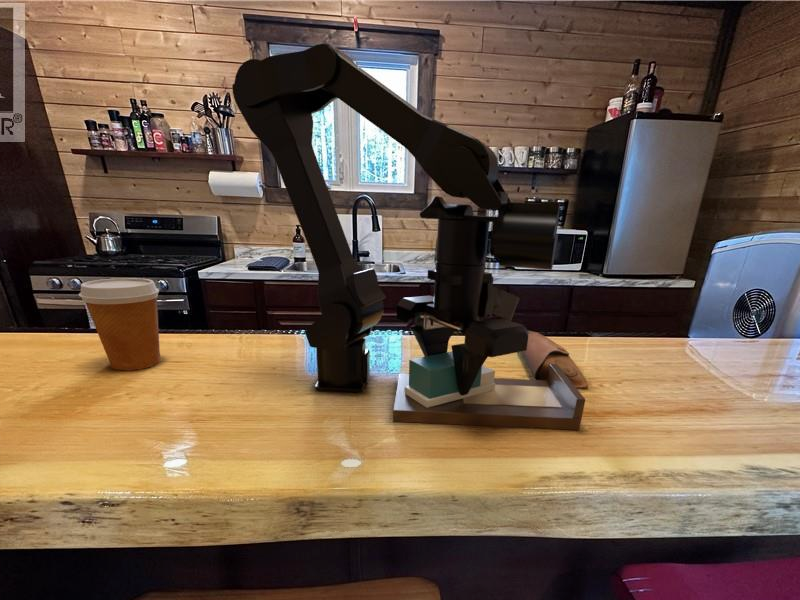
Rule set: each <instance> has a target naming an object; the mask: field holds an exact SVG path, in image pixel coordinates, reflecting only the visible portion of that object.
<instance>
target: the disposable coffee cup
mask: <svg viewBox="0 0 800 600" xmlns="http://www.w3.org/2000/svg"><path fill="white" fill-rule="evenodd" d="M159 293H160V289H159V288H158V287H157V285H156V283H155V281H154V280H152V279H148V278H141V277H139V278H138V277H118V278H117V277H115V278H114V277H113V278H105V279H104V278H103V279H95V280H89V281H86V282H83V283H81V284H80V292H79V293H78V296H79V298H81V300H82V301H83V302H84V303H85V305H86V308H87V310H88V313H89V315H90V318H91V321H92V322H93V326H94V328H95V330H96V333H97V335H98V338H99V339H100V343H101V345H102V347H103V350H104V352H105V354H106V357H107V359H108V362H109V364H110V367H111V368H112V369H114V370H118V371H133V370H134V371H135V370H141V369H146V368H150V367H153V366H155V365H157V364H159V363H160V361H161V351H160V333H159V332H160V330H159V329H160V328H159V311H158V309H159V308H158V297H159Z"/></svg>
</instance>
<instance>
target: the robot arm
mask: <svg viewBox="0 0 800 600" xmlns="http://www.w3.org/2000/svg"><path fill="white" fill-rule="evenodd" d="M231 89H232V96H233V99H234V102H235V104H236V106H237V109H238V110H239V112H240V114H241V115H242V117H243V119H244V121H245V122H246V124H247V126H248V127H249V129H250V131H251V133H252V134H254V136H255V137H256V138H257V139H258V141H259V142H261V143H262V145H263V146H264V148H266V149H267V151H268V152H269V153H270V154H271V156H272V157H273V159H274V162H275V164H276V167H277V169H278V172H279V175H280V177H281V180H282V182H283V185H284V187H285V190H286V193H287V195H288V197H289V200H290V202H291V205H292V207H293V211H294V213H295V215H296V218H297V220H298V223H299V226H300V228H301V230H302V233H303V236H304V238H305V241H306V243H307V247H308V248H309V251H310V254H311V256H312V259H313V261H314V264H315V266H316V268H317V272H318V276H317V277H318V278H317V293H316V294H317V301H318V306H319V310H320V313H321V315H320V316H318V317H317V318H316V320H315V321H314V322H313V323H312V324H311V325H309V326H308V327H307V329H306V330H305V332H304V334H305V336H306V339H307V342H308V345H309V348H314V349H316V368H317V369H316V370H317V381H316V383H315V385H314V390H315V391H328V392H329V391H330V392H331V391H333V392H353V393H362V392H363V391H364V388H365V385H366V384H368V382H369V379H370V377H371V374H370V373H371V372H370V371H371V370H370V369H371V368H370V366H371V358H370V357H371V355H370V353H371V351H370V350H369V349H367V348H366V347H367V345H366V344H367V343H366V342H367V341H366V337H369V336H370V335H371V333H372V329H373V327H374V326H375V325H377V324H378V323H379V322H380V321H381V319H382V316H383V315H384V313H385V305H384V301H383V299H386V297H387V296H386V294H385V293H384V292H383V291H382V289H381V287H380V284H379V279H378V275H377V273H376V270H375V269H374V268H369V269H366V270H364V269H363V268H362V267H361V266H360V265H359V264H358V262H357V261H356V260H355V258H354V256H353V253H352V250H351V247H350V244H349V242H348V240H347V237H346V234H345V232H344V229H343V226H342V223H341V220H340V218H339V215H338V213H337V210H336V207H335V204H334V202H333V199H332V196H331V194H330V190H329V188H328V186H327V182H326V180H325V177H324V175H323V171H322V169H321V166H320V164H319V162H318V158H317V156H316V153H315V151H314V147H313V135H314V133H313V132H314V119H313V114H315V113H318V112H321V111H322V110H324V109H325V108H326V107H328V106H329V105H330V104H331V103H333V102H334V101H335V100H337V99H339V101H341V102H343V103H344V104H345V105H347V106H348V107H349V108H351V109H352V110H353V111H355V112H356V113H357V114H359V115H360V116H361V117H363V118H364V119H366V120H367V121H369V122H370V123H371V124H372V125H373V126H375V127H376V128H378V129H379V130H381V131H382V132H383V133H384V134H386V135H388V136H389V137H390V138H391V139H393V140H394V141H396V142H397V143H398V144H399V145H401V146H403V148H405V149H406V150H407V151H408V152H409V153H410V155H412V156H413V158H414V159H415V161H416V162H417V163H418V165H419V166H420V168H422V170H423V171H424V173H426V175H428V176H429V177H430V179H431V180H432V181H433V182H434V183H435V184H436V185H437V186H438V187H439V188H440V189H441V190H442V191H443V192H444V193H445V194H447V195H449V196H450V197H453V198H459V199H467V200H470V202H472V203H473V204H474V205H475V206H477V207H478V208H479V209H482V210H483V209H484V210H485V209H486V210H497V214H498V215H497V216H493V215H492V216H491V215H476V214H475V215H474V209H473V206H472V205H471V204H463V203H462V204H461V203H447V202H446V200H445V199H444V197H442V196H439V195H435V196H433V198H432V200H431V201H430V203H429V204H428V205H427V206H425V208H423V210H421V211H420V212H419V217H420V218H421V219H426V220H427V219H428V220H429V219H430V220H437V234H436V252H435V268H434V269H427V278H426V279H428V280H432V281H434V285H433V296H432V295H421V296H419V295H418V296H410V297H409V296H408V297H402V298H401V299H400V300H399V302H398V303H397V304H396V320H399V321H401V322H403V323H406V324H411V323H412V321H413V320H414V325H409V331H411V332H412V333H413V336H414V337H415V340H416V342H417V343H418V346H419V348H420V350H421V352H422V355H423V357H425V356H431V355H436V354H441V353H446V352H448V349H449V342H450V339H451V337H452V336H453V335H454V333H455V331H457V332H459V333H462V334H464V343H458V344H452V345H451V352H452V353H453V360H454V366H455V373H456V379H457V385H458V390H459V394H460V395H462V396H463V395H467V394H468V393H469V391H470V389H471V387H472V385H473V383H474V381H475V379H476V377H477V375H478V373H479V371H480V369H481V367H482V365H483V366H484V364H485V362H486V361H487V359H488V358H496V357H501V356H506V355H511V354H516V353H521V351H526V350H527V343H528V331H529V330H528V329H527V328H526V327H525V325H524V324H521V323H518V322H515V321H512V319H513V317H514V314H515V312H516V308H517V307H518V305H519V301H520V297H519V296H516V295H514V294H511V293H509V292H507V291H505V290H502V289H501V288H497V287H495V286H494V276H493V273H492V272H487V271H486V263H487V252H488V244H489V243H490V244H489V249H490V250H489V251H490V256H492V257H493V259H498V265H499V266H501V267H510V268H511V267H512V268H523V269H534V270H548V271H552V270H553V266H554V262H555V256H556V251H557V245H558V240H559V239H558V238H559V233H558V226H559V215H560V209H561V208H560V207H561V203H560V202H559V201H542V202H514V201H513V202H512V201H511V199H510V197H509V193H508V192H506V190H505V188H504V187H503V184H501V182H500V179H499V178H498V175H499V170H500V169H499V161H498V157H497V155H496V153H495V152H494V151H493V149H492V148H491V147H489V146H488V145H486V144H485V143H484V142H483V141H481V140H480V139H478V138H477V137H475V136H473V135H470V134H468V133H467V132H465V131H462V130H460V129H457V128H455V127H453V126H451V125H448V124H446V123H443V122H441V121H439V120H436V119H434V118H432V117H430V116H427V115H426V114H425V113H423V112H422V111H420V110H419V109H418V108H416V107H415V106H413V104H410V102H408V101H407V100H405V99H404V98H403V97H401V96H399V94H397V93H396V92H394V91H393V90H391V89H390V88H389V87H387V86H386V85H384V84H383V83H382V82H381V81H379V80H377V79H376V78H375V77H374V76H373V75H371V74H369V73H368V72H367V71H366V70H364V69H362V67H360V66H358V65H357V64H356V62H355V61H354V60H353V58H351V57H350V56H349V55H347V54H346V52H343V51H342V50H340V49H339V48H338V47H336V46H334V45H332V44H330V43H327V42H326V43H324V42H323V43H319V44H315V45H313V46H311V47H309V48H307V49H304V50H300V51H293V52H287V53H280V54H274V55H273V54H272V55H270V56H267V57H265V58H263V59H261V60H260V59H258V58H250V59H248V60H245V61H244V62H243V63H242V64H241V65H240V66H239V67H238V69H237V71H236V73H235V77H234V82H233V84H232V85H231ZM490 223H492V228H491V234H490V240H489V233H490V232H489V231H490ZM489 241H490V242H489ZM488 242H489V243H488ZM493 317H495V319H492V318H493ZM496 317H499V318H496ZM481 318H482V319H487V320H480V319H481Z"/></svg>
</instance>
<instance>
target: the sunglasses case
mask: <svg viewBox="0 0 800 600" xmlns="http://www.w3.org/2000/svg"><path fill="white" fill-rule="evenodd" d="M527 331H528V343H527V350H526V351H521V352H520V353H521V355H522V357H523V359H524V361H525V362H526V365H527V366H528V368H529V369H528V370H529V371H530V374H531V375H532V377H533V379H534V380H547V377H548V371H549V365H550V364H557V365H558V367H559V368H560V369H561V370H562V371H563V373H564V374H565V375H566V376H567V377H568V379H569V380H570V381H571V382H572V384H573V385H574V386H575V387H576V388H577V389H582V388H588V386H589V384H588V381H587V380H586V377H585V376H584V375H583V373H582V371H581V369H580V368H579V367H578V365H577V364H576V363H575V362H574V360H573V359H572V357H570V353H569V351H568V350H567V349H566V348H565V347H563V346H562V345H560V344H558V343H557V342H555V341H554V340H552V339H551V338H549V337H548V336H545V335H543V334H541V333H538V332H536V331H532V330H527Z"/></svg>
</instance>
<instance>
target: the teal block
mask: <svg viewBox="0 0 800 600" xmlns="http://www.w3.org/2000/svg"><path fill="white" fill-rule="evenodd" d="M408 360H409V361H408V369H409V370H408V374H409V386H406V387H405V394H406V395H408V396H409V397H411V398H412V399H414V400H415V401H417V402H418V403H420V404H421V405H423V406H425V407H426V408H429V407H432V406H436V405H440V404H444V403H447V402H451V401H455V400H459V399H462V398H466V397H470V396H473V395H477V394H481V393H485V392H488V391H492V390H495V383H494V378H496V377H495V375H496V370H494V369H492V368H489V367H487V366H485V365H484V364H483V365H482V367H481V369H480V371H479V373H478V375H477V377H476V379H475V381H474V383H473V385H472V387H471V389H470V391H469V393H468V394H467V395H463V396H462V395H460V394H459V390H458V385H457V379H456V373H455V366H454V360H453V353H452V351H447V352H446V353H441V354H436V355H431V356H425V357H424V356H421V357H415V358H410V359H408Z"/></svg>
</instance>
